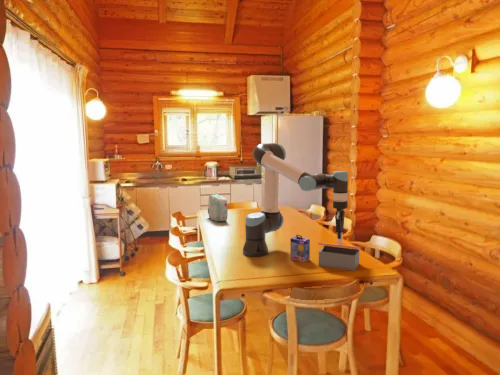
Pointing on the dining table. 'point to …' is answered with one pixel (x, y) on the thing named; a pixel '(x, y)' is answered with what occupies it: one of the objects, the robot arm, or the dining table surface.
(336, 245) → the lid
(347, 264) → the box
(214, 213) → the lunch box
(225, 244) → the dining table surface
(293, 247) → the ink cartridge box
